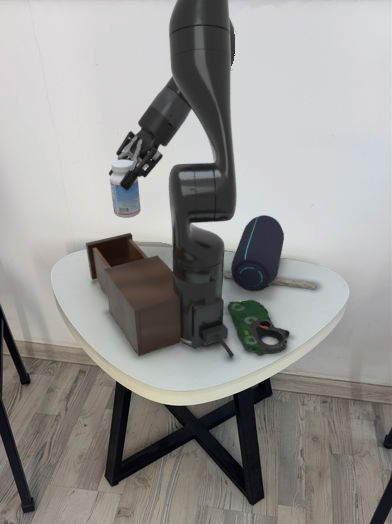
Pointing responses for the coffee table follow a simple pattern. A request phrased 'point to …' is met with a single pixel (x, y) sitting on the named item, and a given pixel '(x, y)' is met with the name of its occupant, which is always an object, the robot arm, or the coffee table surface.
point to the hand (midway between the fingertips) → (117, 182)
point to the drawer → (111, 255)
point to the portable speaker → (258, 254)
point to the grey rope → (285, 282)
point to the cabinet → (144, 303)
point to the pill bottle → (124, 191)
